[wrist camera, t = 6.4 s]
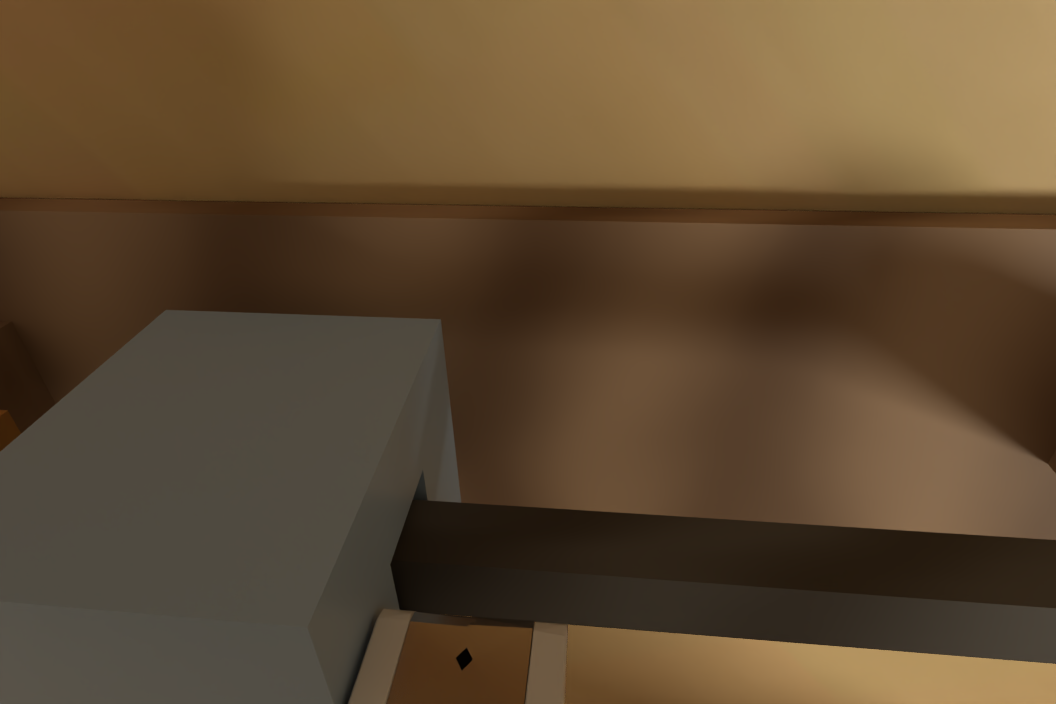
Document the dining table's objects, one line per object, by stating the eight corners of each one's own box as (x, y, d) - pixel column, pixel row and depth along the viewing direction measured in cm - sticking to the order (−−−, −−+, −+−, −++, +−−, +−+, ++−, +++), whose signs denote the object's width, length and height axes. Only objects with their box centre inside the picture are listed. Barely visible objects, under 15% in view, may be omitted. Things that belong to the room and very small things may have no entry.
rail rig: (1286, 218, 13) (2066, 549, 6) (1083, 530, 18) (1382, 907, 11) (-113, 196, 16) (-657, 396, 9) (45, 466, 21) (-230, 728, 14)
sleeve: (440, 319, 13) (308, 627, 7) (463, 522, 16) (383, 847, 11) (165, 309, 14) (-159, 587, 8) (240, 507, 17) (49, 807, 11)
